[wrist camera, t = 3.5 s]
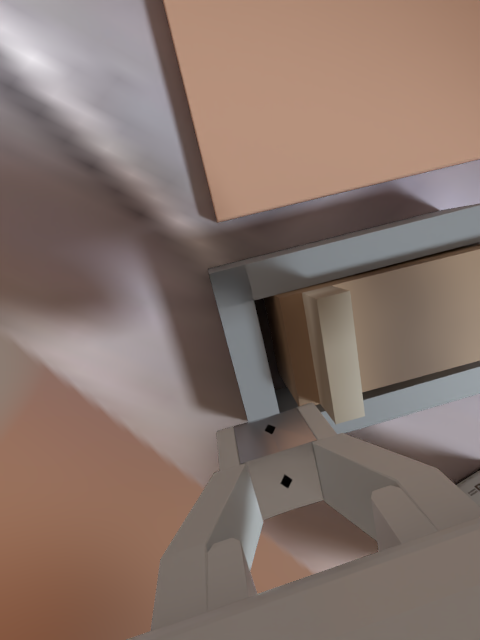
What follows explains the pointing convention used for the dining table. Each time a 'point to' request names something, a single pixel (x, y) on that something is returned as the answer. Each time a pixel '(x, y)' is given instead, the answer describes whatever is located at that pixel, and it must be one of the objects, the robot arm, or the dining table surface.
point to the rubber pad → (325, 93)
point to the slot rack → (325, 265)
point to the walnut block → (377, 329)
